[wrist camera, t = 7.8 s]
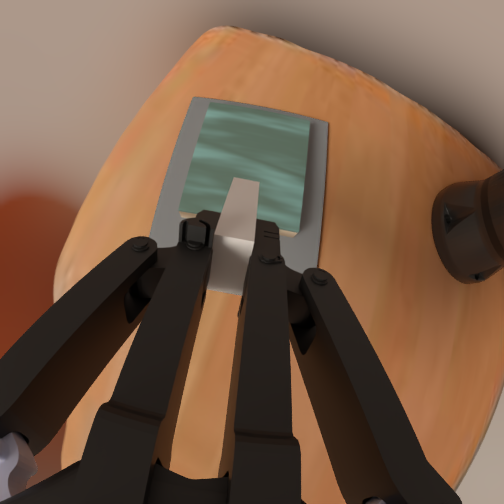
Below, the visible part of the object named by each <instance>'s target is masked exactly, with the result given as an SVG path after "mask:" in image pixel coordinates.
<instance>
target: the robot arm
mask: <svg viewBox="0 0 504 504" xmlns="http://www.w3.org/2000/svg"><path fill="white" fill-rule="evenodd" d="M259 183H260V182H257V181H251V180H246V179H241V178H235V177H234V178H233V181H232V184H231V186H230V189H229V192H228V195H227V198H226V201H225V204H224V207H223V209H222V212H221V213H220V212H215V211H209V210H202V211H201V212H199V213H197V215H196V217H195V218H187V219H184V220H182V221H181V222H180V223H179V240H178V243H177V245H176V246H174V247H166V248H157V243H156V241H155V240H153V239H151V238H149V237H144V236H142V237H141V236H139V237H134V238H131V239H129V240H127V241H126V242H125V243H124V244H122V245H121V246H120V247H119V248H117V249H116V250H115V251H114V252H113V253H111V254H110V255H109V256H108V257H106V258H105V259H104V260H103V261H102V262H100V263H99V264H98V265H97V266H96V267H95V268H93V269H92V270H91V271H90V272H89V273H88V274H87V275H85V276H84V277H83V278H82V279H81V280H80V281H79V282H77V283H76V284H75V285H74V286H73V287H72V288H71V289H70V290H69V291H67V292H66V293H65V294H64V295H63V296H62V297H61V298H60V299H59V300H58V301H57V302H56V303H55V304H53V305H52V306H51V307H50V308H49V309H48V310H47V311H46V312H45V313H44V314H43V315H42V316H41V317H40V318H39V319H38V320H37V321H36V322H35V323H34V324H33V325H32V326H31V327H30V328H29V329H28V330H27V331H26V332H25V333H24V334H23V335H22V336H21V337H20V338H19V339H18V340H17V342H16V343H15V344H14V345H13V346H12V347H11V348H10V349H9V350H8V351H7V352H6V353H5V355H4V356H3V357H2V358H1V359H0V504H306V503H305V502H304V501H303V500H302V499H301V452H300V445H299V442H298V440H297V439H296V438H295V437H294V436H293V433H292V399H291V366H290V342H291V345H292V348H293V351H294V354H295V357H296V360H297V362H298V365H299V368H300V371H301V374H302V377H303V380H304V383H305V386H306V389H307V392H308V395H309V398H310V401H311V404H312V407H313V410H314V413H315V416H316V419H317V422H318V425H319V428H320V431H321V434H322V437H323V440H324V443H325V446H326V449H327V452H328V456H329V459H330V462H331V465H332V468H333V471H334V474H335V477H336V480H337V483H338V486H339V488H340V491H341V493H342V496H343V498H344V499H345V501H346V503H347V504H462V501H461V500H460V498H459V496H458V495H457V494H456V493H455V492H454V490H453V489H452V488H451V487H450V486H449V485H448V484H447V483H446V482H445V480H444V479H443V478H442V477H441V476H440V475H439V474H438V473H437V471H436V470H435V469H434V468H433V467H432V466H431V465H430V464H429V462H428V461H427V460H426V457H425V455H424V453H423V450H422V448H421V446H420V443H419V441H418V439H417V437H416V434H415V432H414V430H413V428H412V426H411V423H410V421H409V419H408V417H407V415H406V413H405V410H404V408H403V406H402V404H401V402H400V400H399V398H398V396H397V394H396V392H395V390H394V388H393V386H392V384H391V382H390V380H389V378H388V376H387V374H386V372H385V370H384V368H383V366H382V364H381V362H380V360H379V358H378V356H377V354H376V352H375V350H374V349H373V347H372V345H371V343H370V341H369V339H368V337H367V335H366V334H365V332H364V330H363V328H362V326H361V324H360V323H359V321H358V319H357V317H356V315H355V314H354V312H353V310H352V308H351V307H350V305H349V303H348V301H347V300H346V298H345V296H344V294H343V293H342V291H341V289H340V287H339V286H338V284H337V282H336V281H335V279H334V278H333V276H332V275H331V274H330V273H328V272H327V271H325V270H322V269H320V268H308V269H306V270H304V272H303V274H302V273H299V272H297V271H294V270H292V269H290V268H289V267H287V266H286V265H285V260H284V257H283V256H282V255H281V251H280V235H279V227H278V226H277V225H276V223H275V222H271V221H266V220H261V219H256V217H257V205H258V194H259ZM432 231H433V237H434V241H435V245H436V248H437V251H438V254H439V256H440V258H441V260H442V262H443V264H444V266H445V267H446V269H447V270H448V272H449V273H450V274H451V275H452V276H453V277H454V278H455V279H456V280H458V281H460V282H462V283H465V284H472V283H478V282H482V281H485V280H486V279H488V278H489V277H491V276H492V275H494V274H495V273H496V272H498V271H499V270H501V269H502V268H503V267H504V169H503V170H501V171H500V172H498V173H496V174H494V175H493V176H491V177H489V178H487V179H485V180H481V181H469V182H458V183H454V184H452V185H450V186H448V187H446V188H445V189H443V190H442V191H441V192H440V193H439V194H438V195H437V197H436V199H435V201H434V204H433V209H432ZM207 289H209V290H214V291H219V292H225V293H230V294H236V295H241V296H242V298H241V303H240V307H239V311H238V316H237V317H238V325H237V333H236V341H235V350H234V358H233V366H232V374H231V382H230V390H229V399H228V407H227V415H226V424H225V432H224V440H223V449H222V456H221V461H220V466H219V473H218V478H212V479H188V478H186V477H183V476H181V475H179V474H177V473H174V472H172V471H170V470H169V467H170V461H171V450H172V443H173V438H174V433H175V428H176V423H177V418H178V413H179V409H180V404H181V399H182V395H183V390H184V386H185V381H186V377H187V373H188V368H189V364H190V360H191V355H192V351H193V347H194V343H195V338H196V334H197V330H198V326H199V322H200V318H201V314H202V310H203V306H204V302H205V298H206V290H207ZM140 322H141V323H140ZM139 323H140V326H139V328H138V331H137V333H136V335H135V338H134V340H133V343H132V345H131V347H130V350H129V352H128V355H127V357H126V360H125V363H124V365H123V368H122V370H121V373H120V376H119V378H118V381H117V384H116V386H115V389H114V392H113V395H112V397H111V399H110V400H109V402H106V403H103V404H102V405H101V406H100V408H99V409H98V411H97V413H96V416H95V418H94V421H93V424H92V427H91V430H90V433H89V436H88V439H87V442H86V446H85V449H84V452H83V455H82V459H81V460H80V461H77V462H75V463H73V464H72V465H70V466H68V467H67V468H65V469H63V470H61V471H60V472H58V473H56V474H54V475H52V476H51V477H49V478H47V479H46V480H43V481H41V482H39V483H38V484H36V485H34V486H32V487H30V488H28V489H26V484H27V481H28V480H29V479H30V477H31V476H33V475H35V474H36V473H37V464H36V462H35V460H34V456H35V455H36V454H38V453H39V452H40V451H41V450H42V449H43V448H44V447H46V446H47V445H48V444H49V443H50V441H51V440H52V439H53V437H54V436H55V435H56V434H57V432H58V431H59V429H60V428H61V427H62V425H63V424H64V422H65V421H66V420H67V418H68V417H69V415H70V414H71V413H72V411H73V410H74V408H75V407H76V406H77V404H78V403H79V401H80V400H81V399H82V397H83V396H84V395H85V393H86V392H87V391H88V389H89V388H90V387H91V385H92V384H93V383H94V381H95V380H96V379H97V377H98V376H99V375H100V373H101V372H102V371H103V369H104V368H105V367H106V365H107V364H108V363H109V361H110V360H111V359H112V358H113V356H114V355H115V354H116V352H117V351H118V350H119V349H120V347H121V346H122V345H123V343H124V342H125V341H126V340H127V338H128V337H129V336H130V335H131V333H132V332H133V331H134V330H135V328H136V327H137V326H138V325H139ZM289 339H290V341H289Z"/></svg>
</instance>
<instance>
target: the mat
mask: <svg viewBox="0 0 504 504" xmlns="http://www.w3.org/2000/svg"><path fill="white" fill-rule="evenodd" d="M210 102H215V103H222V104H229V105H236V106H242V107H248V108H253V109H259V110H264V111H269V112H274V113H279V114H283V115H288V116H292V117H296V118H301V119H305V120H309V121H310V128H309V140H308V152H307V162H306V173H305V182H304V192H303V201H302V210H301V218H300V227H299V232H298V233H297V234H296V235H295V236H294V237H293V238H292V237H287V236H282V235H280V251H281V255H282V256H283V257H284V260H285V265H286V266H287V267H289V268H290V269H292V270H294V271H297V272H299V273H302V274H303V272H304V270H306V269H308V268H317V261H318V253H319V244H320V234H321V224H322V213H323V201H324V189H325V174H326V158H327V136H328V122H325V121H321V120H318V119H314V118H310V117H306V116H302V115H298V114H294V113H290V112H285V111H281V110H276V109H271V108H266V107H261V106H256V105H250V104H244V103H238V102H231V101H225V100H217V99H209V98H201V97H193V98H192V101H191V103H190V106H189V109H188V111H187V114H186V117H185V119H184V122H183V125H182V128H181V130H180V133H179V136H178V139H177V142H176V145H175V148H174V151H173V154H172V157H171V160H170V163H169V166H168V170H167V173H166V176H165V179H164V183H163V186H162V190H161V193H160V197H159V200H158V204H157V208H156V211H155V215H154V219H153V223H152V227H151V231H150V235H149V238H151V239H153V240H155V241H156V243H157V248H166V247H174V246H176V245H177V243H178V240H179V223H180V222H181V221H182V220H184V219H187V218H183V217H181V215H180V213H179V211H178V208H179V204H180V201H181V197H182V193H183V189H184V185H185V182H186V178H187V174H188V171H189V167H190V164H191V160H192V157H193V154H194V150H195V147H196V144H197V140H198V137H199V134H200V131H201V128H202V125H203V121H204V118H205V115H206V112H207V109H208V107H209V104H210Z"/></svg>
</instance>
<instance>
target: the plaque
mask: <svg viewBox="0 0 504 504" xmlns="http://www.w3.org/2000/svg"><path fill="white" fill-rule="evenodd" d="M309 128H310V121H309V120H305V119H301V118H296V117H292V116H288V115H283V114H279V113H274V112H269V111H264V110H259V109H253V108H248V107H242V106H236V105H229V104H222V103H215V102H210V104H209V107H208V109H207V112H206V115H205V118H204V121H203V125H202V128H201V131H200V134H199V137H198V140H197V144H196V147H195V150H194V154H193V157H192V160H191V164H190V167H189V171H188V174H187V178H186V182H185V185H184V189H183V193H182V197H181V201H180V204H179V208H178V211H179V213H180V215H181V217H183V218H195V217H196V215H197V213H199V212H201V211H202V210H209V211H215V212H220V213H221V212H222V209H223V207H224V204H225V201H226V198H227V195H228V192H229V189H230V186H231V184H232V181H233V178H234V177H235V178H241V179H246V180H251V181H257V182H260V183H259V194H258V205H257V217H256V219H261V220H266V221H271V222H275V223H276V225H277V226H278V227H279V235H282V236H287V237H292V238H293V237H294V236H295V235H296V234H297V233H298V232H299V227H300V218H301V210H302V201H303V192H304V182H305V173H306V162H307V152H308V140H309Z"/></svg>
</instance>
